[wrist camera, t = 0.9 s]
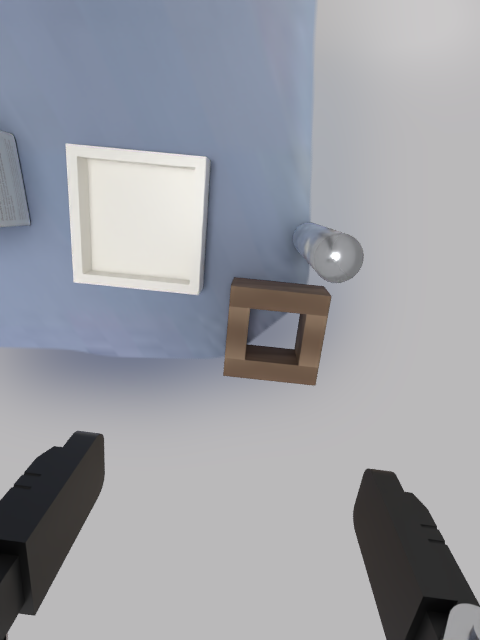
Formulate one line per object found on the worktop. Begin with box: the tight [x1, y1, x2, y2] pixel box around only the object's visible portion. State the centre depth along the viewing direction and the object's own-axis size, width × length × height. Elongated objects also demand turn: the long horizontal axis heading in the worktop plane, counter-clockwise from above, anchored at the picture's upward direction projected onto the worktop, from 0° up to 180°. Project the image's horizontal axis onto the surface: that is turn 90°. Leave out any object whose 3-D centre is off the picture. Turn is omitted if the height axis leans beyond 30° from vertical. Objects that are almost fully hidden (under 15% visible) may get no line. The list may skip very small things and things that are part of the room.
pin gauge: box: [293, 222, 363, 283], centre depth 24 cm, size 3×3×12 cm
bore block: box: [223, 277, 331, 385], centre depth 31 cm, size 8×8×4 cm
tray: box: [66, 144, 211, 295], centre depth 29 cm, size 11×11×2 cm
